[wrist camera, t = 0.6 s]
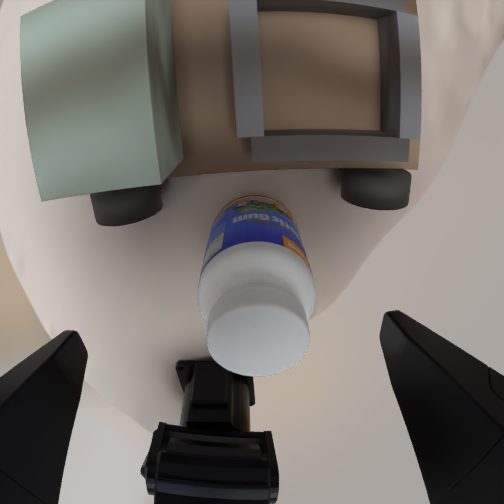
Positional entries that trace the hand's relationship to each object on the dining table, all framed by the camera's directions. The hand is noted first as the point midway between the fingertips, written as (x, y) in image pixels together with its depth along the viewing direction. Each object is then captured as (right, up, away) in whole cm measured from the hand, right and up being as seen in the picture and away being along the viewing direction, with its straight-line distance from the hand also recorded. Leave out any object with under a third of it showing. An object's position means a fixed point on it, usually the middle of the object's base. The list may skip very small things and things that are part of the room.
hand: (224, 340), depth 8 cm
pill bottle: (+1, +4, +12) cm, 13 cm away
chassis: (0, +12, +7) cm, 14 cm away
